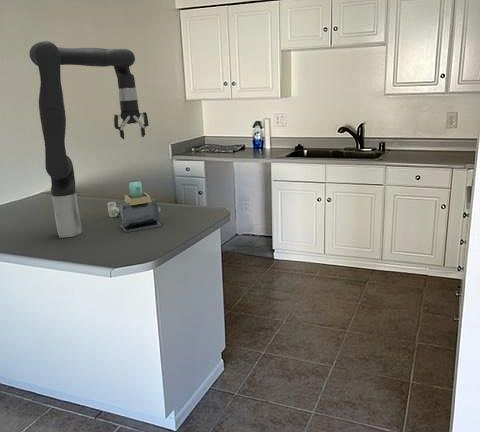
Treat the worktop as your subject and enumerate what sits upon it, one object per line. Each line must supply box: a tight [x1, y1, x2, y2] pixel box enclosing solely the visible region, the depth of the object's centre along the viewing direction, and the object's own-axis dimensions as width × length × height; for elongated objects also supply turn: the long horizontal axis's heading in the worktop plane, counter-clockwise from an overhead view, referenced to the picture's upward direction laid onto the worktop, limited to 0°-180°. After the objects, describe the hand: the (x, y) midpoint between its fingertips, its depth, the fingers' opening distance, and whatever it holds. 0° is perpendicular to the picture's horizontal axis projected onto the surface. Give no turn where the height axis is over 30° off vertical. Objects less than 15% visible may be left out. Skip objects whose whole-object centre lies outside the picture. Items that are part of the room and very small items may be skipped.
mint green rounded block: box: [128, 181, 144, 199], centre depth 197 cm, size 7×5×7 cm
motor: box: [119, 191, 162, 233], centre depth 201 cm, size 16×10×14 cm, turn 116°
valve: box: [106, 201, 121, 219], centre depth 218 cm, size 7×7×12 cm
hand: (133, 137), depth 205 cm, fingers open, 8 cm apart
